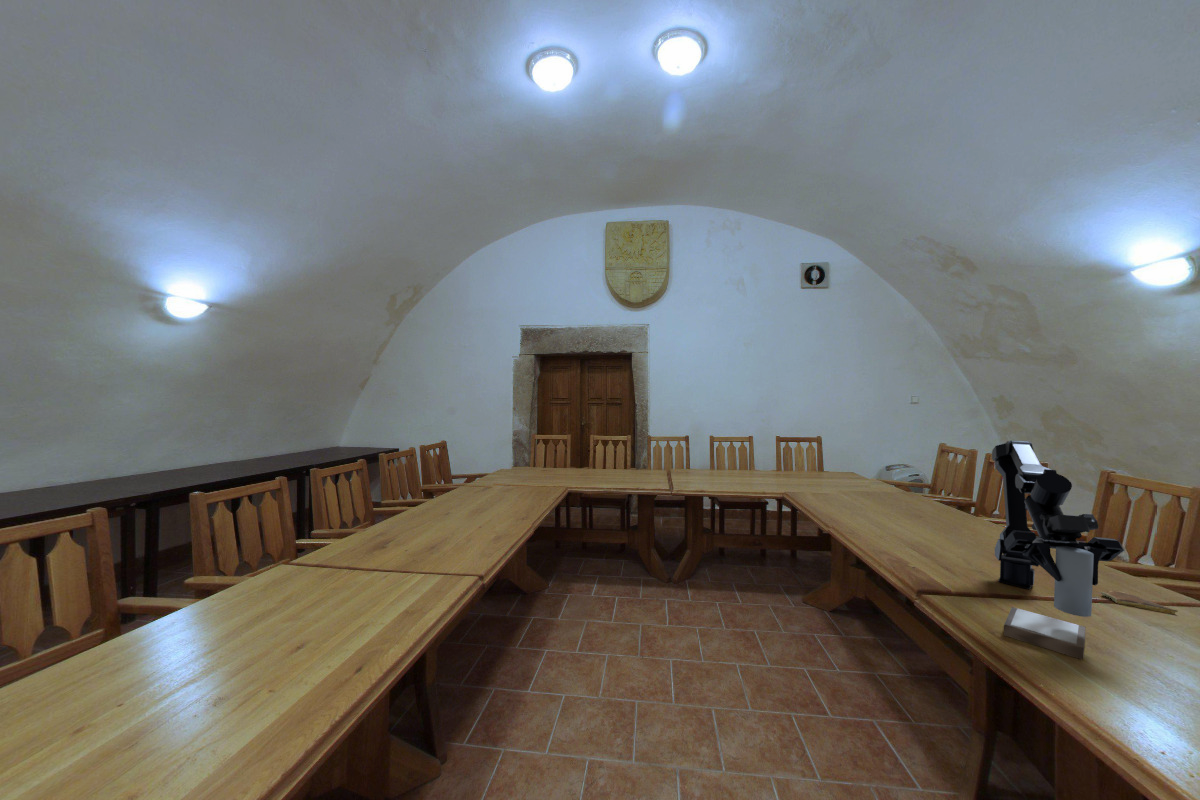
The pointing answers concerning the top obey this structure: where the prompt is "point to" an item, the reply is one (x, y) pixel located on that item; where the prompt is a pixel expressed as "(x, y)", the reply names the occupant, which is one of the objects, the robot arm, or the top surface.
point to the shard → (1136, 601)
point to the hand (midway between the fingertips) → (1077, 582)
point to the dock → (1046, 632)
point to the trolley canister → (1074, 581)
